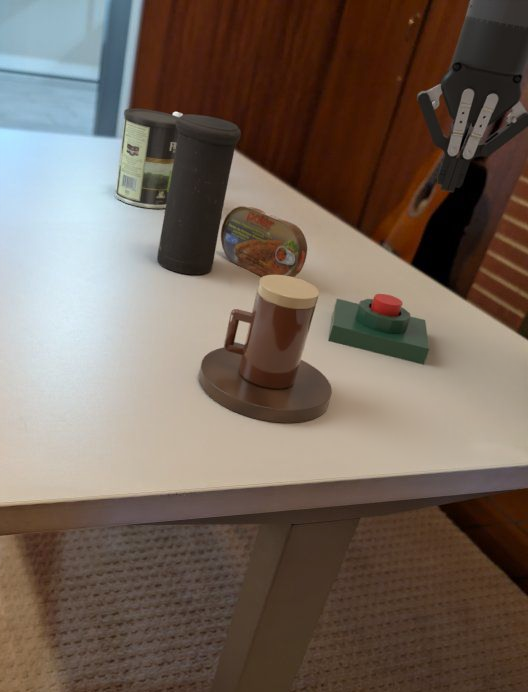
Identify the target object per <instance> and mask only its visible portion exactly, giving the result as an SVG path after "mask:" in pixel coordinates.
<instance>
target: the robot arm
mask: <svg viewBox="0 0 528 692" xmlns="http://www.w3.org/2000/svg"><path fill="white" fill-rule="evenodd" d="M527 67H528V0H469V2H468V3H467V8H466V14H465V17H464V21H463V24H462V27H461V30H460V34H459V37H458V40H457V44H456V47H455V49H454V53H453V56H452V59H451V63H450V66H449V68H448V69H447V71H446V72H445V73H444V74H443V76H442V77H441V79H440V83H439V84H437V85H435V86H433V87H432V88H429V89H427V90H421V91H419V92H418V93H417V95H416V100H417V102H418V105H419V109H420V111H421V113H422V117H423V119H424V121H425V124H426V127H427V129H428V133H429V135H430V137H431V140H432V143H433V145H434V146H435V147H437V148H439V149H440V150H442V151H443V156H442V159H441V163H440V166H439V168H438V173H437V175H436V182H437V184H438V185H439V189H440V191H445V192H448V193H449V192H450V193H454V192H455V190H456V188H457V189H460V188H461V187H462V185H463V184H464V181H465V179H466V178H465V177H466V175H467V172H468V170H469V167H470V164H471V162H472V160H473V159H475V158H479V157H485V158H487V157H490V156H491V155H492V154H494V153H495V152H496V151H497V150H498V151H499V149H500V148H502V147H503V146H504V145H506V144H507V143H508V142H510V141H511V140H513V139H514V138H515V137H516V136H518V135H519V134H520V133H522V132H523V131H524V130H525V129H527V128H528V111H527V110H526V108H525V106H524V104H523V103H522V101H520V100H521V98H522V95H523V90H522V81H523V78H524V75H525V72H526V69H527ZM441 96H442V97H443V100H444V104H445V106H446V109H447V112H448V115H449V117H450V118H451V123H450V129H449V133H448V136H446V135H445V134H444V133H443V130H442V128H441V125H440V122H439V120H438V117H437V114H436V111H435V110H437V109H438V108H439V107H440V104H441V103H440V97H441ZM509 111H510V113H508V115H507V116H506V119H505V121H506V124H504V125H503V126H502V127H500V128H499V129H498V130H496V131H495V132H494V133H492V134H491V135H490V136H488V137H487V138H486V139H484V141H482V142H481V139H482V138H483V137H484V134H485V131H486V129H487V127H489V126H491V125H493V124H494V123H495V122H497V121H498V120H499V119H500V118H501V117H503V116H504V115H505V114H506V113H507V112H509ZM467 123H468V124H469V123H470V125H469V127H468V130H467V134H466V136H465V139H464V141H463V144H462V140H463V137H464V134H465V130H466V127H467ZM461 144H462V145H461ZM458 154H459V155H458Z"/></svg>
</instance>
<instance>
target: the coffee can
mask: <svg viewBox="0 0 528 692" xmlns="http://www.w3.org/2000/svg"><path fill="white" fill-rule="evenodd" d="M123 116H124V118H123V126H122V135H121V142H120V143H121V144H120V152H119V161H118V171H117V179H116V188H115V193H114V197H115V198H116V197H117V198H118V199H117V198H116V199H117V200H118V201H120V200H121V202H122V203H125V204H126V205H127V204H128V205H130V206H134V207H139V208H145V209H152V210H153V209H154V210H159V209H166V203H167V197H168V191H169V185H170V180H171V174H172V169H173V163H174V157H175V151H176V145H177V139H178V133H179V132H178V131H177V128H176V120H177V118H179V117H177V116H174V115H173V114H170V113H166V112H163V111H158V110H151V109H144V108H127V109H124V110H123Z"/></svg>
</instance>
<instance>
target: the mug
mask: <svg viewBox="0 0 528 692" xmlns="http://www.w3.org/2000/svg"><path fill="white" fill-rule="evenodd" d="M319 296H320V290H319V289H318V288H317V287H316V286H314V285H313V284H312V283H310V282H307V280H303V279H300V278H297V277H290V276H284V275H266V276H263V277H261V276H260V278H259V281H258V285H257V288H256V293H255V299H254V301H253V305H252V306H253V307H252V311H248V310H247V311H246V310H243V309H239V308H236V309H235V308H234V309H232V310H231V312H230V315H229V320H228V324H227V328H226V334H225V337H224V343H223V347H224V348H225V350H227V351H229V352H233V353H237V354H241V355H242V358H241V362H240V367H239V371H240V374H241V375H242V376H243V377H244V378H245V379H246V380H248V381H250V382H252V383H254V384H256V385H259V386H262V387H266V388H273V389H282V388H287V387H290V386H292V385H293V384H294V382H295V379H296V375H297V372H298V368H299V365H300V361H301V360H302V357H303V353H304V350H305V346H306V343H307V340H308V335H309V332H310V328H311V325H312V321H313V317H314V314H315V311H316V307H317V304H318V300H319ZM239 322H243V323H247V324H248V328H247V331H246V336H245V341H244V343H239V342H236V337H237V332H238V327H239V324H240V323H239Z"/></svg>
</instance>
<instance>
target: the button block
mask: <svg viewBox="0 0 528 692" xmlns="http://www.w3.org/2000/svg"><path fill="white" fill-rule="evenodd" d="M373 299H374V298H365V299H363V300H360V301H359V303H358V302H353V301H350V300H349V301H348V300H346V299H341V298H336V299H335V304H334V306H333V311H332V314H331V322H330V327H329V333H328V340H327V341H328V342H331V343H336V344H339V345H342V346H343V345H344V346H347V347H350V348H354V349H359V350H363V351H367V352H372V353H375V354H380V355H382V356H387V357H392V358H395V359H398V360H399V359H400V360H404V361H407V362H412V363H415V364H420V365H425V362H426V360H427V356H428V354H429V351H430V345H429V337H428V331H427V323H426V320H425V319H422V318H418V317H414V316H411V313H410V312H409V311H408V310H407V309H406V308H404V307H403V306H402V307H401V310H400V312H399V315H398V317H392V316H387V315H382V314H379V313H377V312H375V311H373V310H372V309H370V308H371V305H372V302H373Z"/></svg>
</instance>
